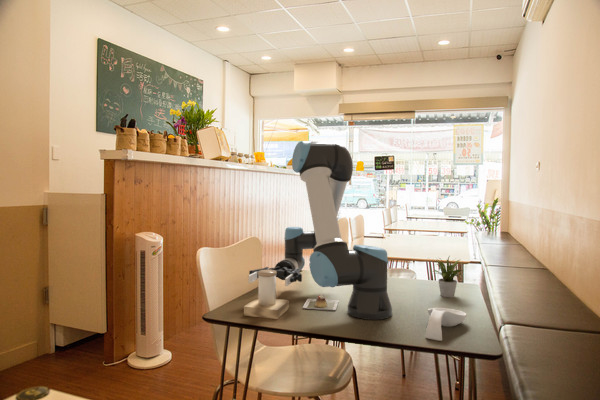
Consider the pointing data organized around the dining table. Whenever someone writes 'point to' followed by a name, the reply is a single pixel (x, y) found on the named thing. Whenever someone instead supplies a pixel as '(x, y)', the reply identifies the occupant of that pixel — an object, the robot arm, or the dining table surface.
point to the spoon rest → (442, 321)
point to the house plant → (448, 278)
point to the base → (266, 309)
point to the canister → (267, 287)
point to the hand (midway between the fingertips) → (267, 280)
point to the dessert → (320, 303)
